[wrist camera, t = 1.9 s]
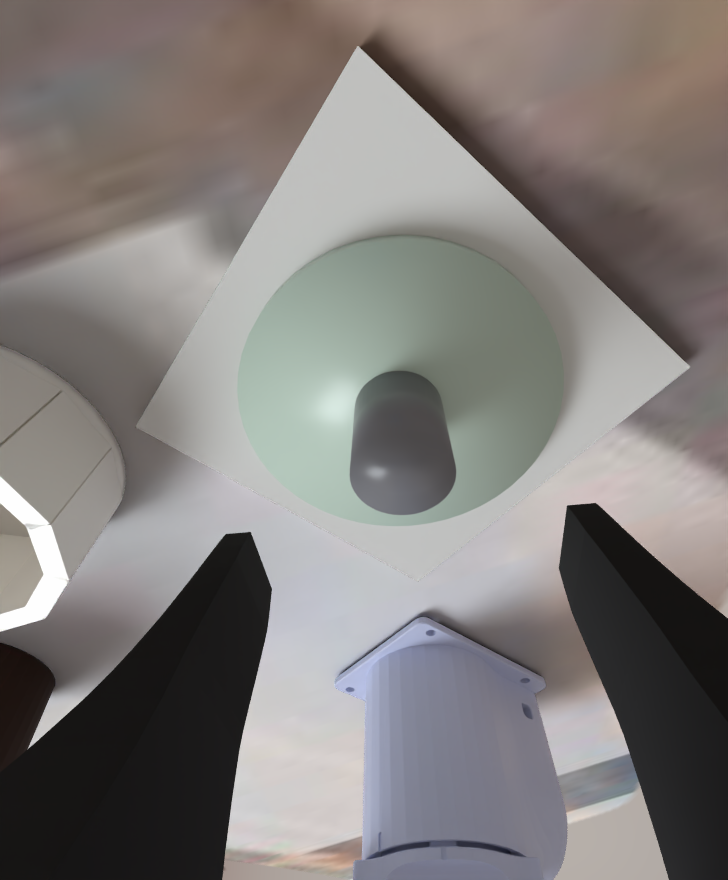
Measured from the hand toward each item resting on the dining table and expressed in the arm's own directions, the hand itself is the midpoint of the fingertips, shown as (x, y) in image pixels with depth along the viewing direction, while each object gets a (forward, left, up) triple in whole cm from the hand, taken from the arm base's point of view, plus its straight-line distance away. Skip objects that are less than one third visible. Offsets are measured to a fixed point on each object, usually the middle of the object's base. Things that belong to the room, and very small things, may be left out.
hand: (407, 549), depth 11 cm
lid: (0, 0, -7) cm, 7 cm away
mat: (0, 0, -8) cm, 8 cm away
